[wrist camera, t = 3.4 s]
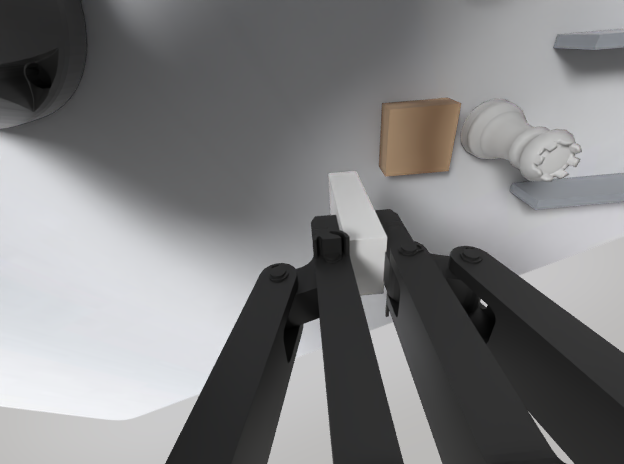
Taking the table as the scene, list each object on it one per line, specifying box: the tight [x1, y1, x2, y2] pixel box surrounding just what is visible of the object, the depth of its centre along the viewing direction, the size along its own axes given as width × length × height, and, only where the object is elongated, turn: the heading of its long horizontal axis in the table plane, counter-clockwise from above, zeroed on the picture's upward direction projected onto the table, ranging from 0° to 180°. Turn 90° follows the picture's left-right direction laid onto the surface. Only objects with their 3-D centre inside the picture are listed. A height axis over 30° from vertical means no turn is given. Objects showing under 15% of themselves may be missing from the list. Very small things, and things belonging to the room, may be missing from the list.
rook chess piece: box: [461, 99, 582, 182], centre depth 21 cm, size 4×4×8 cm
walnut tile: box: [379, 98, 461, 177], centre depth 24 cm, size 5×5×2 cm
